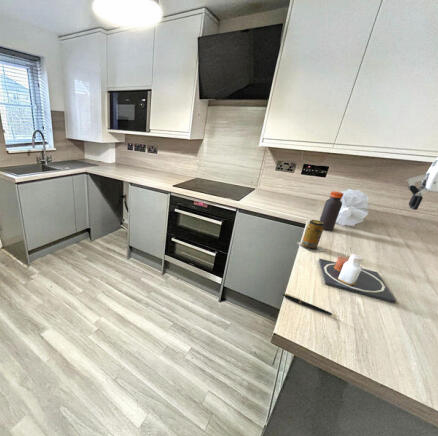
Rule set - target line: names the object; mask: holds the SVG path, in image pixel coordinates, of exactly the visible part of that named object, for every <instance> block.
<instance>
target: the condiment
mask: <svg viewBox="0 0 438 436" xmlns="http://www.w3.org/2000/svg"><path fill="white" fill-rule="evenodd" d="M323 225H324V223H323V222H321V221H320V220H317V219H311V220H309V222H308V225H307V226H306V228H305V231H304V234H303V237H302V241H301V242H300V241H299V242H298V241H297V245H299V246H301V247H303V248H304V249H306V250H308V251H310V252H312V253H314V252H316V253H317V252H326V250H325V249H323V248H321V247H320V246H319V243H320V241H321V238H322V235H323V232H324V230H323Z"/></svg>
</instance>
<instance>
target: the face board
mask: <svg viewBox="0 0 438 436" xmlns="http://www.w3.org/2000/svg"><path fill="white" fill-rule="evenodd" d="M318 263H319V266H320V270H321V274H322V278H323V282H324V285H326V286H329V287H333V288H337V289H341V290H343V291H347V292H351V293H354V294H358V295H362V296H365V297H370V298H373V299H376V300H380V301H384V302H388V303H391V304H396V303H397V300H396V298H395V297H394V295H393V293H392V292H391V291H390V288H389V287H388V286H387V284H386V283H385V282H384V280H383V278H382V277H381V275H380V274H379V272H378V271H376V270H375V271H374V270H371V269H366V268H362V269H361V271H360V274H359V276H358V278H357V280H356V281H355V282H354V283H352V284H349V283H347V282H345V281H343V280H340V279H339V275H340V273H341V271H339V270H337V269H336V268H335V267H334V266H335V264H336V261H332V260H329V259H324V258H321V257H320V258H319V259H318Z"/></svg>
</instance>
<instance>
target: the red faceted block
mask: <svg viewBox="0 0 438 436" xmlns="http://www.w3.org/2000/svg"><path fill="white" fill-rule="evenodd" d="M348 261H349V258H348V257H345V256H338V257H337V259H336V261H335V262H336V264H335V266H334V267H335V268H336V269H337V270H339V271H341V270H342V268H343V265H344V263H346V262H348Z"/></svg>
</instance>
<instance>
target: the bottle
mask: <svg viewBox="0 0 438 436" xmlns="http://www.w3.org/2000/svg"><path fill="white" fill-rule="evenodd" d="M341 192H342V191H336V190H335V191H333V190H332V191H331V192H330V195H329V198H328V199H326V200H325V203H324V206H323V209H322V213H321V215H320V218H319V221H321V222H323V223H324V225H323V231H325V232H326V231H328V232H331V231H333V230H334V228H335V225H336V224H337V223H336V220H337V217H338V214H339V212H340V209H341V206H342V202H341V199H342V197H343V193H341Z"/></svg>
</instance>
